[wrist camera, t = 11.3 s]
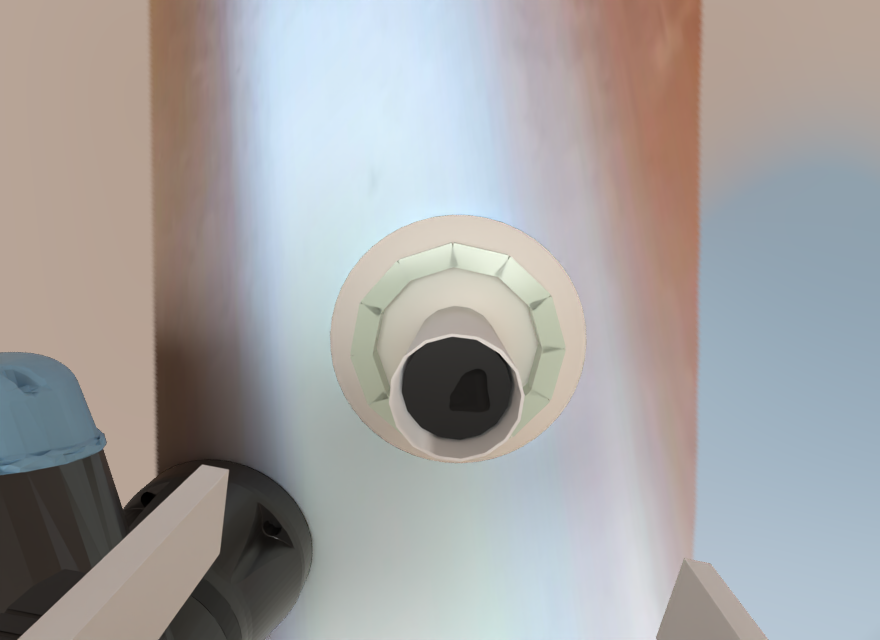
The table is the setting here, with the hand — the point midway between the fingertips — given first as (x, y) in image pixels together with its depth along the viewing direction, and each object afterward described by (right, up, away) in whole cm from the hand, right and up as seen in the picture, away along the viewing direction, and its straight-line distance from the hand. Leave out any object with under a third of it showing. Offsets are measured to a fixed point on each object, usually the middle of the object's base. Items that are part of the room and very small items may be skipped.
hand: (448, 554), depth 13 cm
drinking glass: (+1, +5, +19) cm, 20 cm away
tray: (+1, +5, +20) cm, 21 cm away
